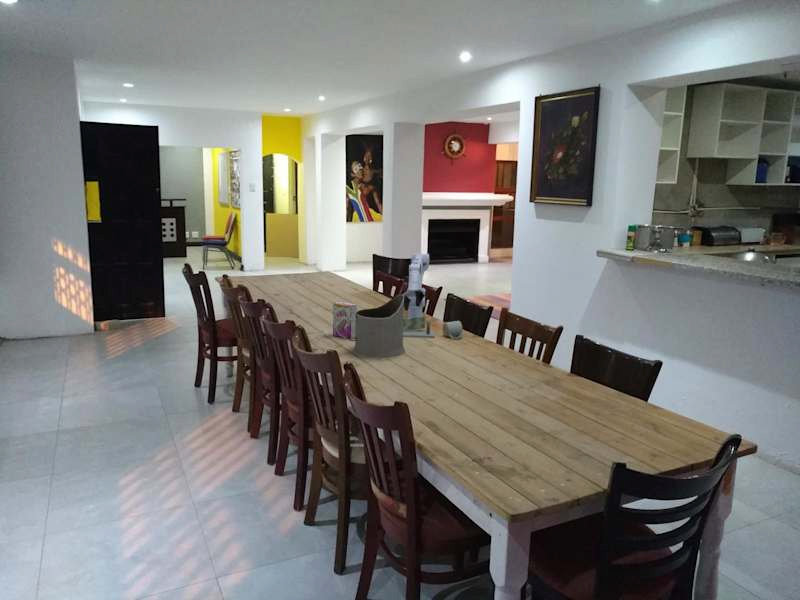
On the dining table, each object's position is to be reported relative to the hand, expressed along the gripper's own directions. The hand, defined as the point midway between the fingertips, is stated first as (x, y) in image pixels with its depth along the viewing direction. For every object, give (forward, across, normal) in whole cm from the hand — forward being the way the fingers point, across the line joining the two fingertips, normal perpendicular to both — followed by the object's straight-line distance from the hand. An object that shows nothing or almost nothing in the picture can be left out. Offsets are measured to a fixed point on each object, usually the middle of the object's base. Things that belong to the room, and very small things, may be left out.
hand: (411, 308), depth 306 cm
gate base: (+14, 0, +3) cm, 14 cm away
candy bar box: (+20, -22, -22) cm, 37 cm away
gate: (+9, -3, +6) cm, 11 cm away
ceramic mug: (+13, +15, +16) cm, 26 cm away
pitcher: (+35, +3, -27) cm, 44 cm away
